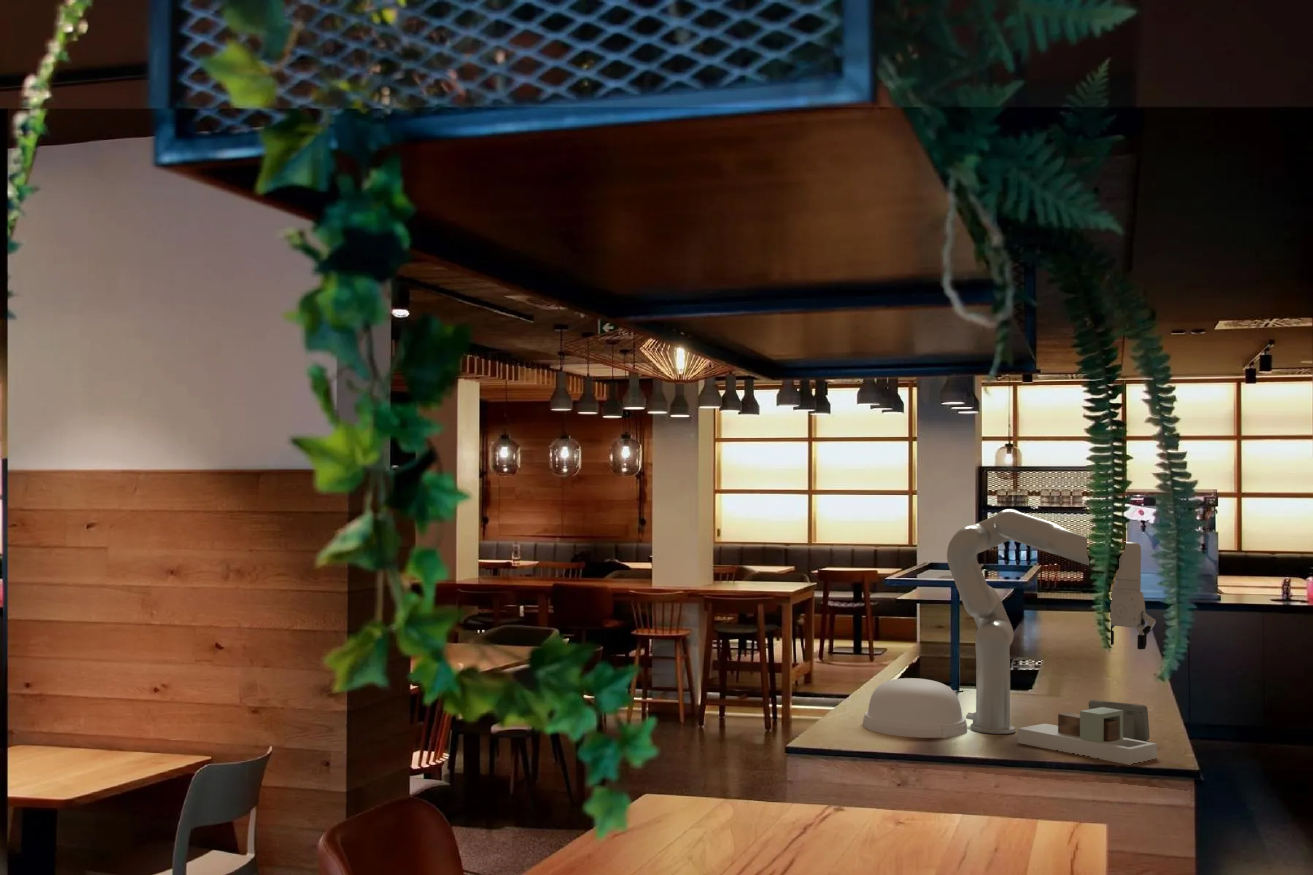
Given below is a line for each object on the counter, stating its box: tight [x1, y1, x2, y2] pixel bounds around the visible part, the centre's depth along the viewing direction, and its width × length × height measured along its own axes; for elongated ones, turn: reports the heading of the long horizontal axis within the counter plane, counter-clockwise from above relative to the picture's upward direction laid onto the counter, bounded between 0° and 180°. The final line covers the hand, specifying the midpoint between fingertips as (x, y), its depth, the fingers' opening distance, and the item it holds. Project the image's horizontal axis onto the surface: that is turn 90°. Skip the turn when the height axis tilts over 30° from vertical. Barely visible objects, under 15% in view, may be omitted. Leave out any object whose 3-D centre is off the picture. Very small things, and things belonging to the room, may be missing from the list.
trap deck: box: [1017, 723, 1158, 766], centre depth 334 cm, size 34×13×4 cm, turn 39°
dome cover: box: [862, 677, 968, 739], centre depth 363 cm, size 32×30×14 cm
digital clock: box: [1088, 699, 1150, 742], centre depth 351 cm, size 16×9×11 cm, turn 47°
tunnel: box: [1079, 707, 1123, 743], centre depth 331 cm, size 6×11×7 cm, turn 129°
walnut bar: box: [1057, 711, 1119, 742], centre depth 334 cm, size 15×5×5 cm, turn 39°
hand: (1125, 646), depth 348 cm, fingers open, 9 cm apart
